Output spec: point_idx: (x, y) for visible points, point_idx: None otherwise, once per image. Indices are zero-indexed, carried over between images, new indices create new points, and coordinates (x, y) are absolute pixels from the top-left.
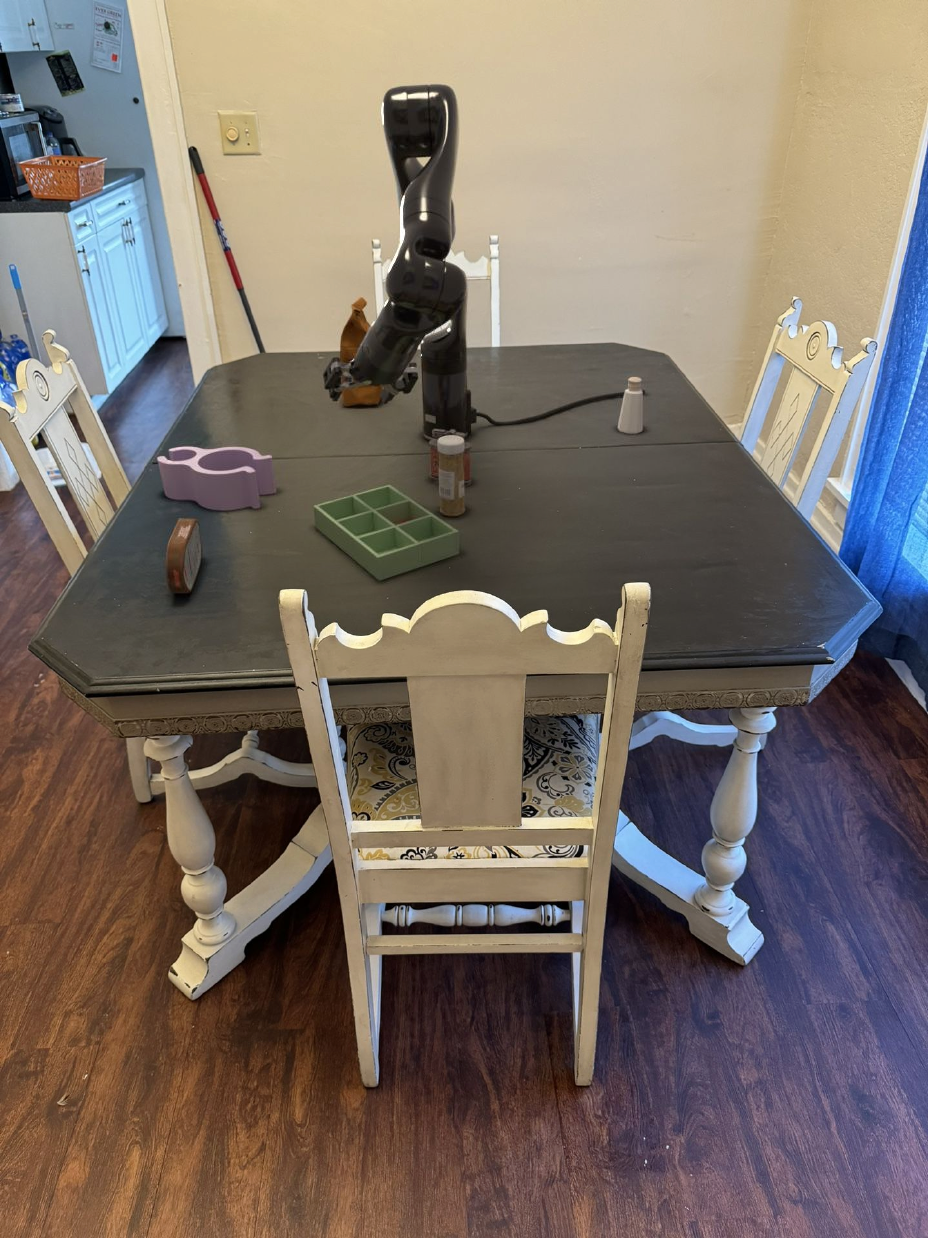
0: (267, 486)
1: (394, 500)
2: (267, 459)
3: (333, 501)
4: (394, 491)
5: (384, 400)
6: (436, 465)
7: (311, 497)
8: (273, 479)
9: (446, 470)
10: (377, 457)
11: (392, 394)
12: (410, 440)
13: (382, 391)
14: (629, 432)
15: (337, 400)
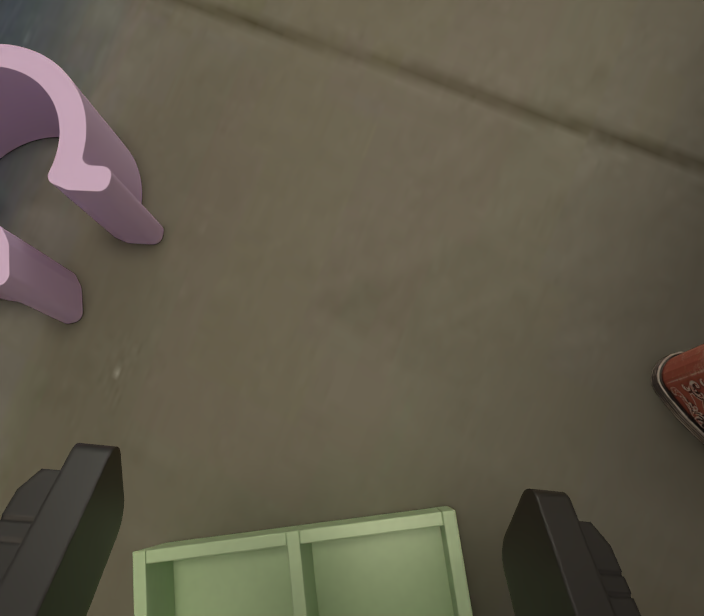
0: (124, 234)
1: (448, 568)
2: (92, 194)
3: (209, 554)
4: (452, 578)
5: (513, 598)
6: (699, 394)
7: (239, 321)
8: (138, 225)
9: None
10: (538, 129)
11: None
12: (688, 49)
13: (536, 520)
14: None
15: (111, 545)
